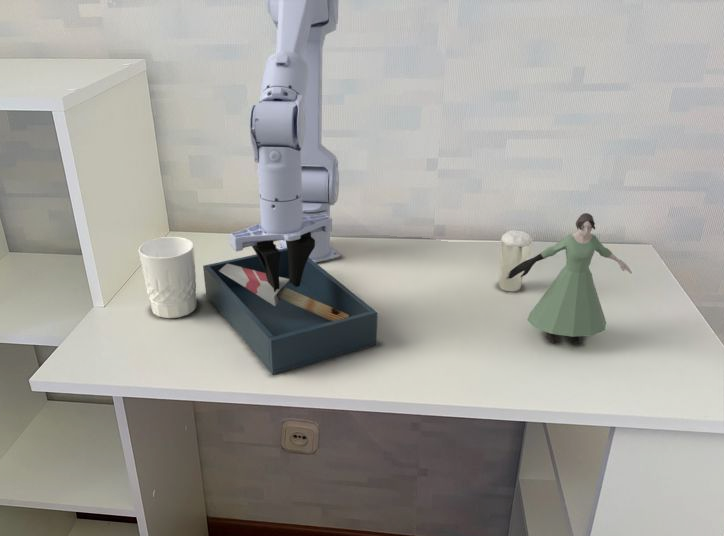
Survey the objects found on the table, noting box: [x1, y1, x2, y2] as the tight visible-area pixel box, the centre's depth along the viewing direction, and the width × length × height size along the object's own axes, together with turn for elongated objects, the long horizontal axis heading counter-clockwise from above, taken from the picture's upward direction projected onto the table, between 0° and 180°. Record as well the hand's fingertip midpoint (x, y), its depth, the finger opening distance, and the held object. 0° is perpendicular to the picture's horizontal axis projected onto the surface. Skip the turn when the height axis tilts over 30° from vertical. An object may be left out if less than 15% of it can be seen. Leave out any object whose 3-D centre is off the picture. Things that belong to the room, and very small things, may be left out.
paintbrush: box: [219, 264, 350, 321], centre depth 101 cm, size 4×3×20 cm
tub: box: [202, 248, 378, 375], centre depth 102 cm, size 26×16×5 cm, turn 26°
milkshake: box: [498, 229, 538, 292], centre depth 108 cm, size 4×5×10 cm
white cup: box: [138, 236, 198, 319], centre depth 105 cm, size 8×8×10 cm
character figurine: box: [506, 212, 632, 345], centre depth 93 cm, size 16×8×18 cm, turn 83°
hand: (284, 286), depth 101 cm, fingers closed on paintbrush, 3 cm apart
